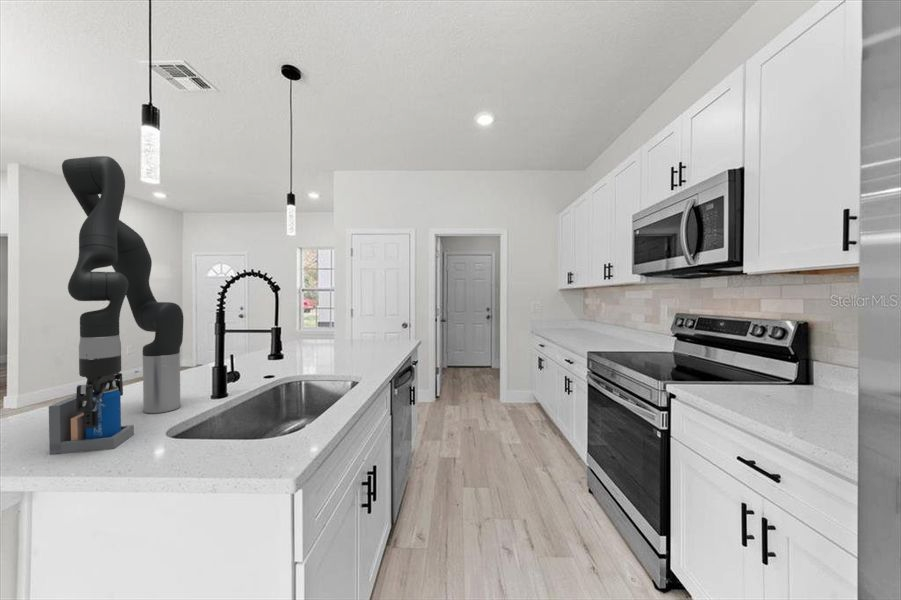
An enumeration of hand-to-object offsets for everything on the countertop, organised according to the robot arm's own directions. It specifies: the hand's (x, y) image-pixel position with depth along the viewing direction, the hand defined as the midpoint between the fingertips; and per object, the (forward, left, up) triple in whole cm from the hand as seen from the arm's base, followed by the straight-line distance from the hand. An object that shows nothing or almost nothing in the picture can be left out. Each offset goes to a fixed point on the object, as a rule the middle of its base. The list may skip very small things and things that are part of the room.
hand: (101, 421), depth 93 cm
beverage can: (0, 0, -4) cm, 5 cm away
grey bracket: (0, -2, -5) cm, 6 cm away
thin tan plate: (0, -4, -4) cm, 5 cm away
